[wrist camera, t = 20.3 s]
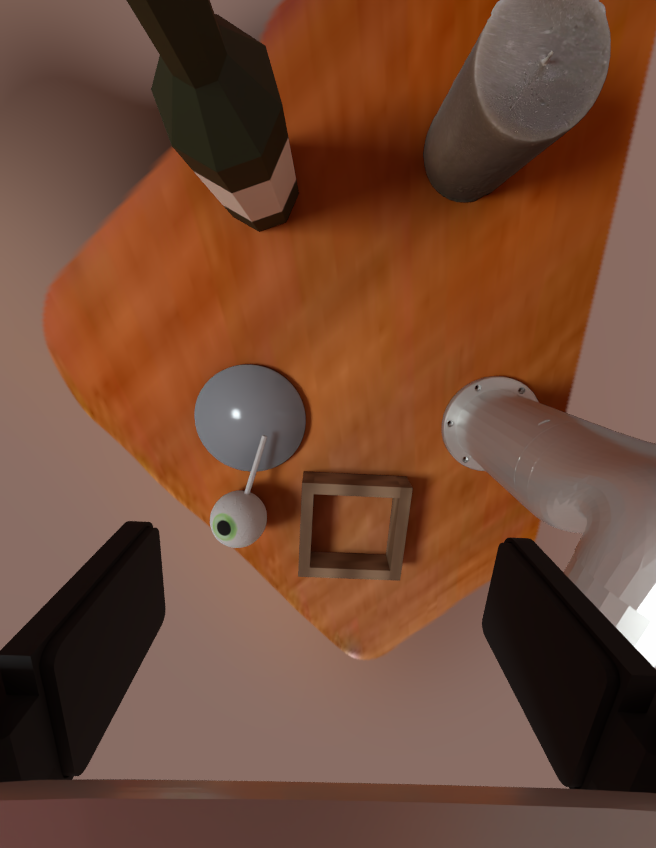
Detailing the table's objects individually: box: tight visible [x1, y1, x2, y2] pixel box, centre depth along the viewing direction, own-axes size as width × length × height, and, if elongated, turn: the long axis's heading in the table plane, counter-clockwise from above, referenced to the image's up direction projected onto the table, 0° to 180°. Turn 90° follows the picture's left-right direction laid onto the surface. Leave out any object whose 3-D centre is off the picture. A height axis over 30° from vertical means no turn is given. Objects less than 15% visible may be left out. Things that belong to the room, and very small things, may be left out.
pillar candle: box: [423, 0, 611, 202], centre depth 31 cm, size 10×10×15 cm
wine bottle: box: [127, 0, 299, 232], centre depth 24 cm, size 8×8×30 cm
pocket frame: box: [298, 472, 413, 580], centre depth 49 cm, size 14×14×4 cm
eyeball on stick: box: [210, 435, 267, 548], centre depth 45 cm, size 7×7×15 cm
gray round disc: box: [195, 364, 306, 471], centre depth 46 cm, size 14×14×1 cm
